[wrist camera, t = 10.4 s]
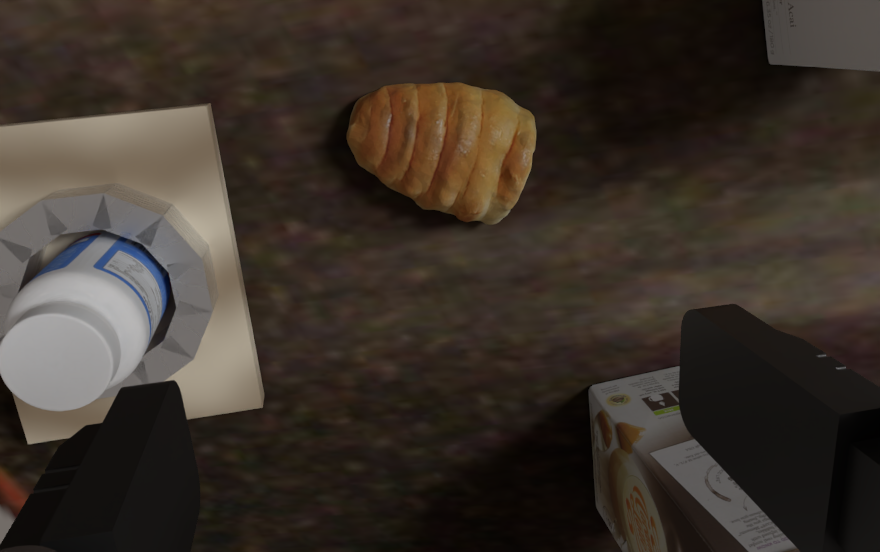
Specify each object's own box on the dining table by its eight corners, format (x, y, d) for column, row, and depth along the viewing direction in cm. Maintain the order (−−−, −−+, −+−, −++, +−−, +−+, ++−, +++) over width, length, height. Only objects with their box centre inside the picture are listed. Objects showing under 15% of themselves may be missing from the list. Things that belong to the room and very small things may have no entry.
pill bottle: (61, 331, 36) (-23, 429, 27) (53, 226, 35) (-39, 293, 26) (176, 333, 37) (133, 428, 28) (174, 230, 36) (127, 296, 27)
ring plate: (-53, 130, 34) (-69, 134, 33) (210, 103, 36) (206, 105, 34) (38, 429, 39) (28, 444, 38) (264, 394, 41) (262, 407, 39)
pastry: (332, 181, 38) (334, 195, 34) (365, 51, 36) (371, 52, 33) (499, 223, 40) (517, 241, 37) (537, 103, 39) (560, 109, 35)
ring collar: (-22, 198, 34) (-47, 210, 31) (195, 173, 35) (186, 183, 33) (34, 387, 37) (15, 411, 35) (231, 358, 38) (226, 379, 36)
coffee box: (582, 384, 44) (724, 563, 29) (682, 363, 45) (870, 527, 30) (593, 510, 47) (726, 732, 32) (686, 488, 48) (859, 695, 33)
